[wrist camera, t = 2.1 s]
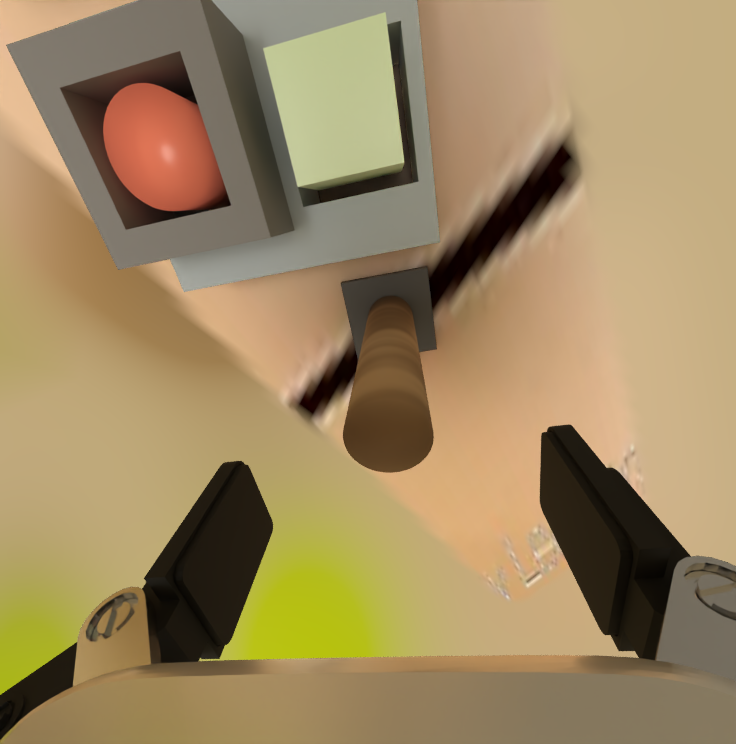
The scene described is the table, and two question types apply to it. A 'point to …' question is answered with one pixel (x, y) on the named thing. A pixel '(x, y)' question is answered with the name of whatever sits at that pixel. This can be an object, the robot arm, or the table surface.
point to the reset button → (162, 150)
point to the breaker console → (225, 134)
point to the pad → (399, 284)
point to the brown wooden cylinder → (389, 393)
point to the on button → (338, 103)
